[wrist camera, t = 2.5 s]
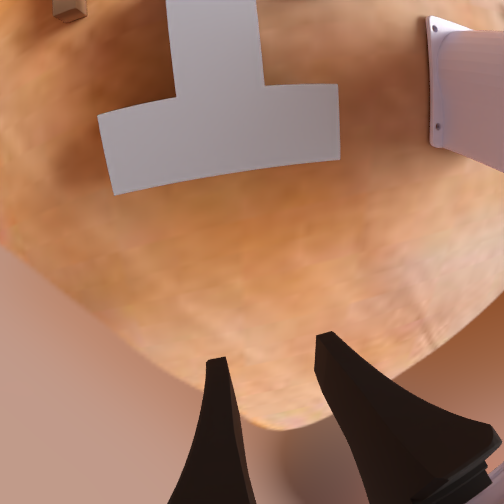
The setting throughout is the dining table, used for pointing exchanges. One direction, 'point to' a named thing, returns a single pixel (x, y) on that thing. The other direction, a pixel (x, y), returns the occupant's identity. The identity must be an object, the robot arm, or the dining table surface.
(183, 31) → the tee block
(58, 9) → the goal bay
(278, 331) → the dining table surface
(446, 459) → the robot arm
